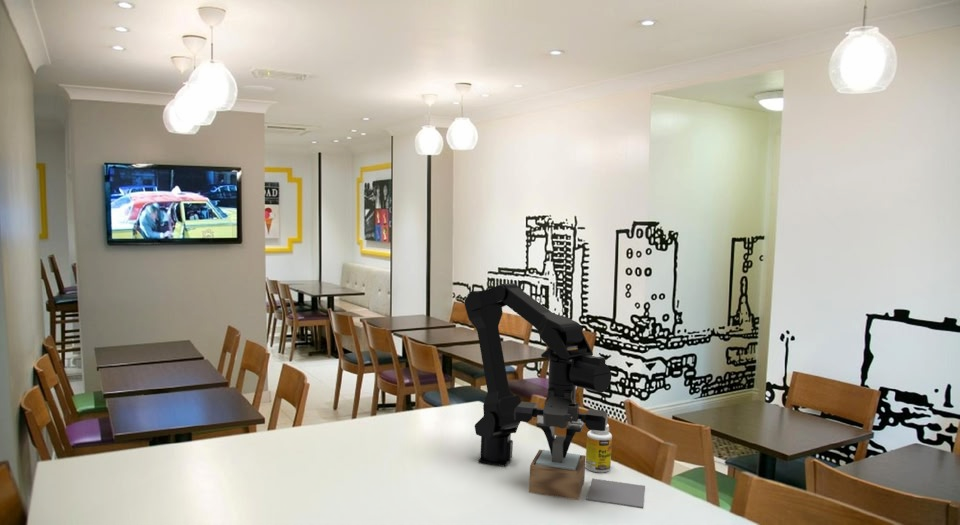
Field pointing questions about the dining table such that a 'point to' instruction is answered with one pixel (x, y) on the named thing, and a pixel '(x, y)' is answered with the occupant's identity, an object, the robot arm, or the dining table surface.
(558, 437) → the lid
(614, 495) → the mat
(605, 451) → the supplement bottle
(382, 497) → the dining table surface
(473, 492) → the dining table surface
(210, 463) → the dining table surface
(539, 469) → the walnut box
